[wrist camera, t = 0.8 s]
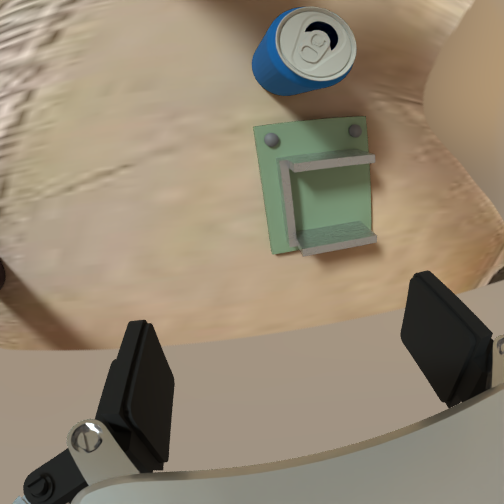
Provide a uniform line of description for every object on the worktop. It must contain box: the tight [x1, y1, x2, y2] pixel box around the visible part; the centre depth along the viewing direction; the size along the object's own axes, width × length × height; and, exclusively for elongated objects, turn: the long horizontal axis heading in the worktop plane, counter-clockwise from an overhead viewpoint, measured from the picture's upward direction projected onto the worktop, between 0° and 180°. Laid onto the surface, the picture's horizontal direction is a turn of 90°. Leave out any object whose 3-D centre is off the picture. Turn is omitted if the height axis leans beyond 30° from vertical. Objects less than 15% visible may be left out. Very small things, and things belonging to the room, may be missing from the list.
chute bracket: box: [276, 149, 377, 256], centre depth 31 cm, size 9×9×4 cm
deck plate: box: [253, 116, 371, 254], centre depth 32 cm, size 14×12×1 cm
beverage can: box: [252, 7, 357, 96], centre depth 22 cm, size 6×6×12 cm
